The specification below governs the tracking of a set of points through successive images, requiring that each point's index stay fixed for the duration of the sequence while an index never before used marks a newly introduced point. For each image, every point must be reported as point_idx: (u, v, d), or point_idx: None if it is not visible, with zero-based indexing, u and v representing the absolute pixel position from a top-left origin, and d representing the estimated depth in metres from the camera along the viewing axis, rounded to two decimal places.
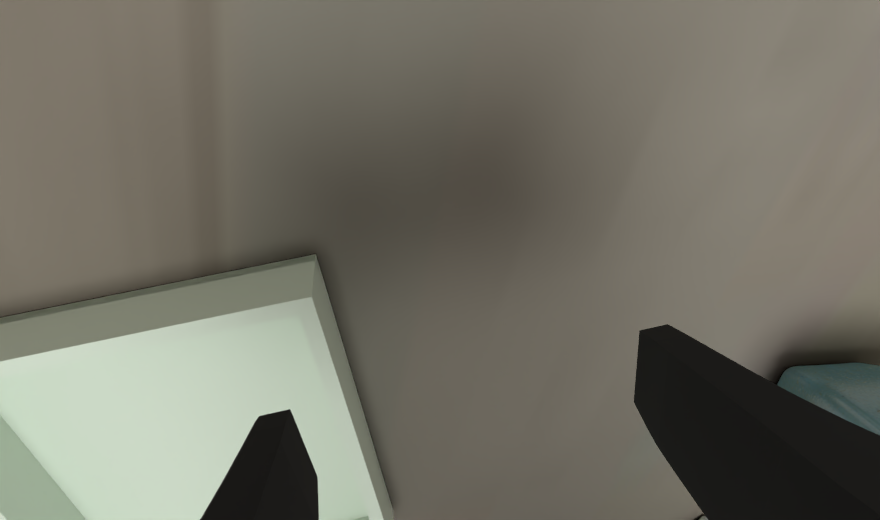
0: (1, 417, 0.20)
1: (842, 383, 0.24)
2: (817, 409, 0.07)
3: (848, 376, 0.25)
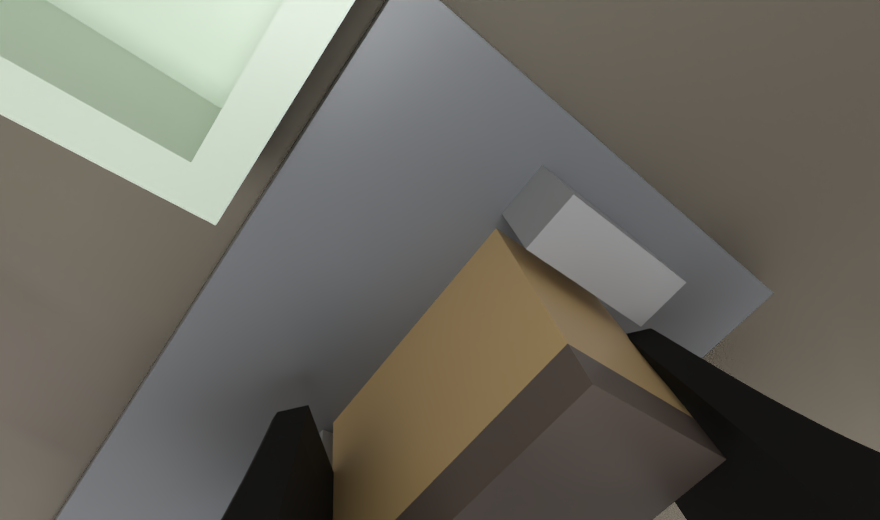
0: None
1: None
2: (794, 415, 0.07)
3: None
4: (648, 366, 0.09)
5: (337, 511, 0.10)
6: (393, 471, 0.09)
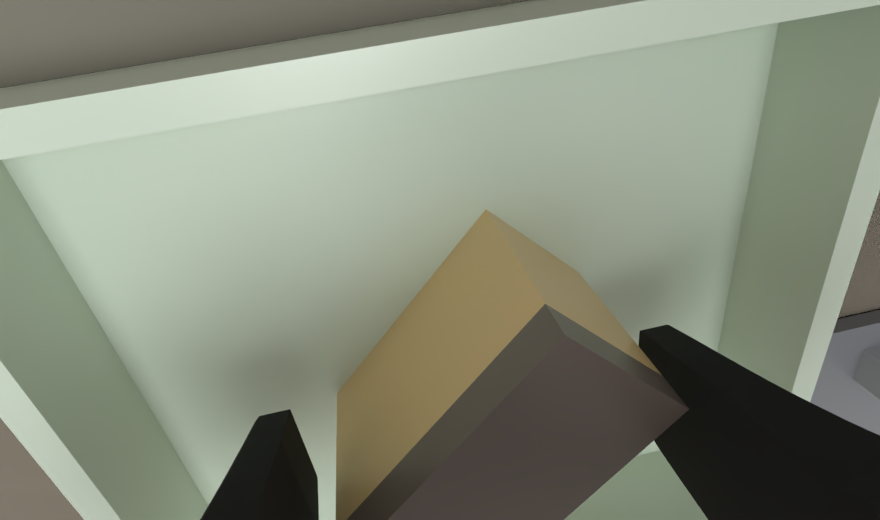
0: None
1: None
2: (817, 409, 0.07)
3: None
4: (624, 332, 0.10)
5: (341, 468, 0.11)
6: (392, 427, 0.10)
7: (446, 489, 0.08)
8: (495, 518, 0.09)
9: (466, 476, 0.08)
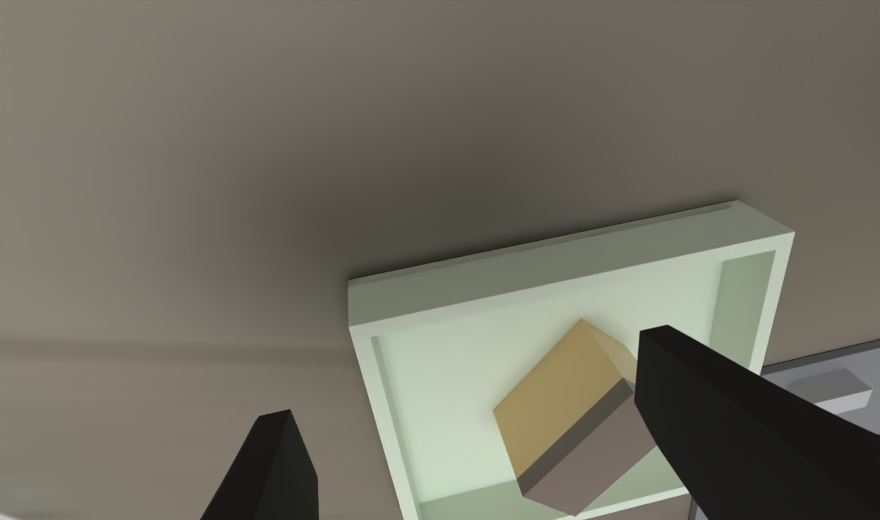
0: (485, 487, 0.26)
1: None
2: (817, 409, 0.07)
3: None
4: None
5: (510, 450, 0.21)
6: (542, 429, 0.20)
7: (577, 456, 0.19)
8: (596, 471, 0.19)
9: (586, 451, 0.19)
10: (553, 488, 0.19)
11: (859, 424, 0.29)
